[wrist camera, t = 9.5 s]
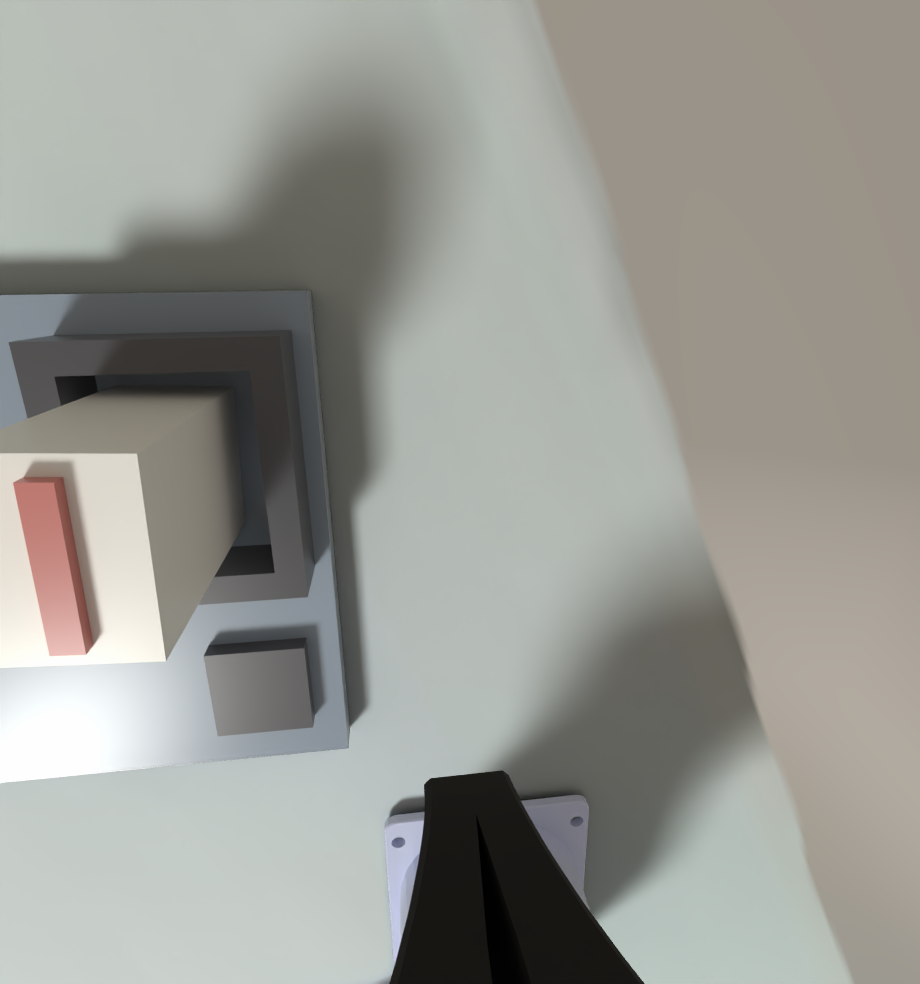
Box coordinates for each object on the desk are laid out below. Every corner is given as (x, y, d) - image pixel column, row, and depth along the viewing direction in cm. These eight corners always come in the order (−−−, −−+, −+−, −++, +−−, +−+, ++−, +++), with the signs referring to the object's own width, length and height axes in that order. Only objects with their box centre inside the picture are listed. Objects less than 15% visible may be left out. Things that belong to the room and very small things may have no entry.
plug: (245, 522, 18) (160, 671, 11) (137, 523, 17) (-21, 678, 11) (233, 386, 17) (130, 458, 10) (117, 384, 16) (-77, 458, 9)
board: (349, 728, 22) (347, 761, 20) (-10, 762, 20) (-40, 800, 19) (311, 290, 17) (304, 290, 15) (-164, 297, 16) (-223, 298, 14)
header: (315, 565, 19) (307, 597, 17) (108, 579, 18) (76, 613, 16) (291, 329, 16) (279, 336, 14) (53, 335, 16) (8, 342, 14)
